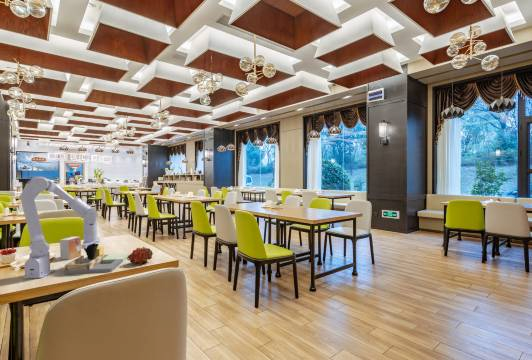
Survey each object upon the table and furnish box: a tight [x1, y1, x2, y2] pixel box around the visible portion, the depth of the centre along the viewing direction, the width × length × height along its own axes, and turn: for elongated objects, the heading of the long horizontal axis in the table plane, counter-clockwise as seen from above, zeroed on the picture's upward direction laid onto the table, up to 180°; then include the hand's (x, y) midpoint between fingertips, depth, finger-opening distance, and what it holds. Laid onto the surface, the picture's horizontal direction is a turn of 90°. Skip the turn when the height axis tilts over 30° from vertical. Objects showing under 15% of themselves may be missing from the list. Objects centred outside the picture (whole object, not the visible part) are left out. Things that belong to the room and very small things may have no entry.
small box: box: [59, 236, 82, 260], centre depth 158 cm, size 8×6×10 cm
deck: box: [63, 253, 130, 275], centre depth 145 cm, size 24×20×2 cm
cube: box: [94, 246, 105, 259], centre depth 152 cm, size 5×5×5 cm
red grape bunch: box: [126, 246, 154, 265], centre depth 147 cm, size 8×8×12 cm
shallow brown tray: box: [64, 255, 103, 271], centre depth 140 cm, size 15×10×2 cm, turn 7°
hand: (91, 259), depth 146 cm, fingers closed
